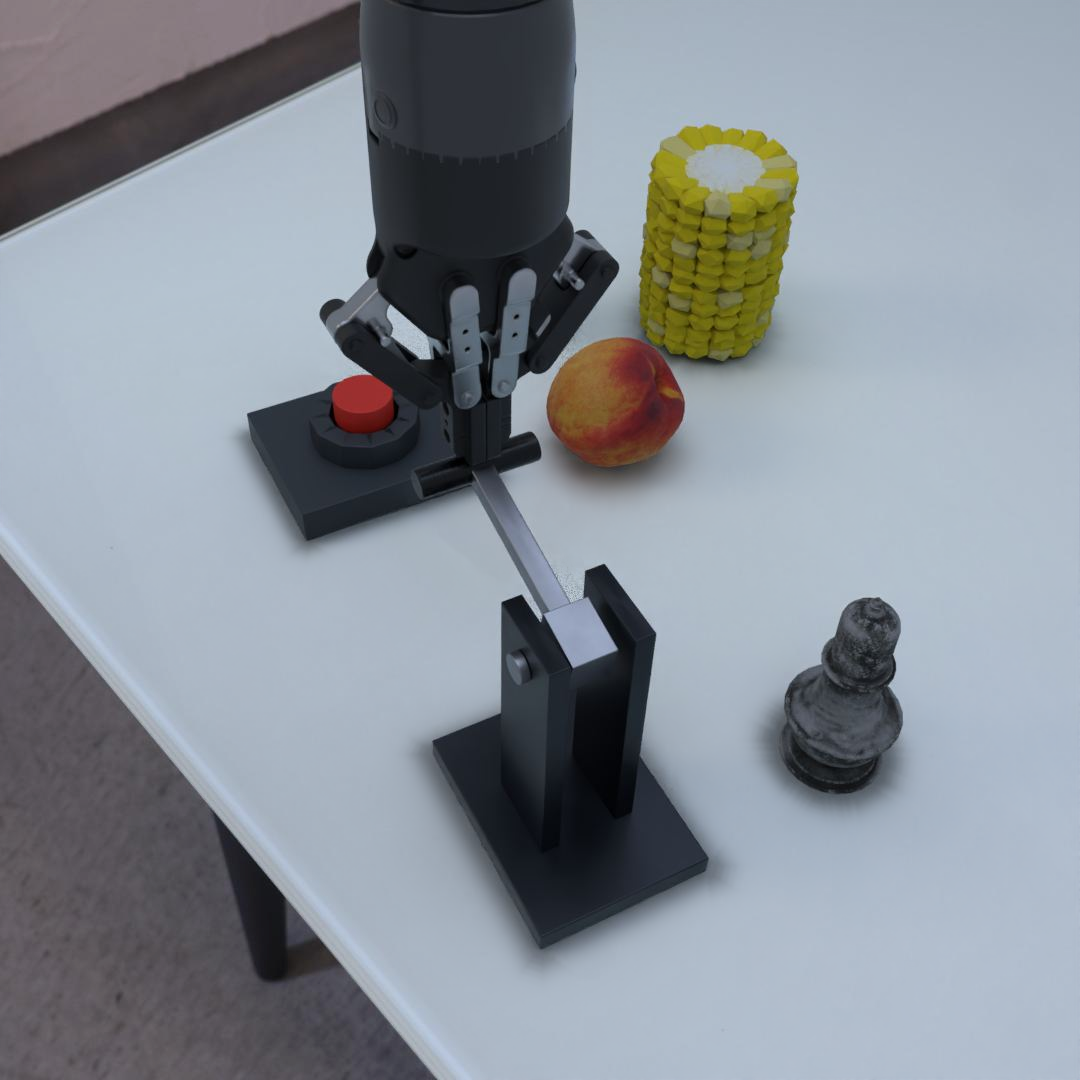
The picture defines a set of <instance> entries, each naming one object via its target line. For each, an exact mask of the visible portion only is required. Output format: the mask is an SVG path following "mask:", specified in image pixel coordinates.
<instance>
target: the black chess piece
mask: <svg viewBox="0 0 1080 1080" xmlns="http://www.w3.org/2000/svg"><path fill="white" fill-rule="evenodd" d="M900 618H901V617H900V616H899V614H898V612H897V611H896V610H895V608H894V607H893V606H892V605H890V604H889V603H888V602H886V601H885V600H883V599H882V598H881V597H880V596H878V597H877V596H876V597H869V596H868V597H861V598H858V599H854V600H853V601H850V603H848V604H847V605H846V607H845V608H844V609H843V610H842V612H841V615H840V617H839V621H838V624H837V627H836V631H835V635H834V636H833V637H831V638H830V639H828V640H827V642H826V643H825V644H824V646H823V648H822V651H821V653H820V662H821V663H820V664H818V665H814V666H811V667H808V668H806V669H804V670H803V671H801V672H799V673H797V675H795V677H794V678H793V679H792V680H791V681H790V682H789V684H788V687H787V689H786V692H785V694H784V703H783V710H784V713H785V717H786V720H787V722H786V724H785V725H784V726H783V729H782V731H781V733H780V736H779V751H780V755H781V760H782V761H783V764H784V765H785V766H786V768H787V770H788V771H789V772H790V773H791V774H792V775H793V776H794V777H795V778H796V779H797V780H798V781H799V782H802V784H804V785H806V786H807V787H809V788H811V789H814V790H817V791H819V792H822V793H827V794H833V795H844V794H852V793H855V792H858V791H861V790H863V789H865V788H867V787H868V786H869V785H871V784H873V782H874V780H875V779H876V778H877V776H878V775H879V774H880V770H881V768H882V764H883V753H884V752H886V751H887V750H890V749H891V748H892V747H893V746H894V744H895V743H896V742H897V740H898V739H899V738H900V735H901V732H902V728H903V726H904V714H903V713H904V711H903V709H902V705H901V703H900V701H899V699H898V697H897V696H896V694H895V693H894V691H893V690H892V688H891V687H890V686H889V685H890V684H891V683H892V682H893V680H894V679H895V676H896V673H897V661H896V657H895V655H894V653H895V650H896V647H897V644H898V642H899V640H900V639H899V638H900V635H901V634H902V621H901V619H900Z"/></svg>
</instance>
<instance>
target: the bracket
mask: <svg viewBox="0 0 1080 1080" xmlns="http://www.w3.org/2000/svg"><path fill="white" fill-rule="evenodd" d="M585 597H589V599H590V601H591V602H592V604H593V606H594V608H595V609H596V611H597V613H598V615H599V616H600V618H601V620H602V622H603V623H604V625H605V627H606V629H607V630H608V632H609V634H610V636H611V637H612V639H613V641H614V643H615V644H616V646H617V648H618V650H619V651H618V653H617V656H616V658H615V661H614V664H613V666H612V669H611V671H610V674H609V675H608V676H606V677H603V678H601V679H598V680H596V681H593V682H591V683H589V684H586V685H584V686H581V687H579V688H576V689H574V690H571V691H570V676H571V667H570V665H569V664H568V662H567V661H566V659H565V658H564V657H563V655H562V654H561V652H560V651H559V649H558V648H557V646H556V645H555V643H554V642H553V640H552V639H551V637H550V636H549V634H548V633H547V631H546V630H545V628H544V627H543V625H542V624H541V620H540V619H539V618H538V616H537V615H536V613H535V612H534V610H533V609H532V607H531V606H530V605H529V602H528V601H527V599H526V598H525V597H524V595H523V594H519V595H516V596H514V597H511V598H508V599H505V600H503V601H501V603H500V618H501V619H500V713H497V714H494V715H492V716H490V717H488V718H485V719H482V720H480V721H477V722H475V723H472V724H470V725H468V726H464V727H463V728H460V729H457V730H454V731H452V732H450V733H448V734H446V735H445V734H444V735H443V736H440V737H438V738H435V739H433V740H432V741H431V744H432V755H433V757H434V758H435V760H436V762H437V764H438V765H439V767H440V770H441V771H442V773H443V775H444V777H445V779H446V780H447V782H448V784H449V786H450V788H451V789H452V791H453V793H454V795H455V796H456V797H455V798H457V800H458V803H459V804H460V806H461V808H462V810H463V811H464V813H465V815H466V817H467V819H468V821H469V822H470V824H471V826H472V828H473V829H474V831H475V833H476V835H477V837H478V838H479V841H480V842H481V844H482V845H483V848H484V849H485V851H486V854H487V855H488V857H489V859H490V860H491V862H492V865H493V866H494V867H495V869H496V872H497V874H498V875H499V878H501V881H502V883H503V885H504V886H505V888H506V889H507V892H508V893H509V895H510V898H511V899H512V900H513V902H514V904H515V906H516V908H517V910H518V911H519V913H520V915H521V917H522V919H523V921H524V923H525V924H526V926H527V927H528V930H529V932H530V933H531V935H532V937H533V939H534V940H535V942H536V944H537V946H538V949H540V950H542V949H545V948H547V947H548V946H551V945H553V944H555V943H557V942H559V941H561V940H563V939H565V938H567V937H570V936H572V935H573V934H576V933H578V932H580V931H582V930H584V929H587V928H588V927H590V926H592V925H594V924H597V923H599V922H601V921H603V920H605V919H608V918H609V917H612V916H613V915H616V914H618V913H620V912H622V911H624V910H626V909H628V908H631V907H632V906H635V905H637V904H640V903H641V902H642V901H645V900H647V899H649V898H651V897H653V896H655V895H657V894H660V893H661V892H664V891H666V890H669V889H670V888H672V887H675V886H676V885H679V884H681V883H683V882H685V881H687V880H689V879H691V878H693V877H695V876H697V875H699V874H702V873H704V872H706V871H707V868H708V863H709V859H710V858H709V856H708V855H707V853H706V852H705V850H704V849H703V847H702V845H700V843H699V841H698V840H697V838H696V837H695V835H694V834H693V832H692V831H691V829H690V828H689V827H688V825H687V823H686V822H685V821H684V820H683V818H682V816H681V814H680V813H679V812H678V810H677V809H676V807H675V806H674V805H673V803H672V801H671V800H670V798H669V797H668V795H667V794H666V792H665V791H664V789H663V788H662V787H661V785H660V783H659V782H658V781H657V779H656V777H655V776H654V774H653V773H652V772H651V770H650V768H649V767H648V766H647V764H646V763H645V761H644V760H643V758H642V757H641V750H642V744H643V737H644V729H645V721H646V713H647V707H648V700H649V692H650V685H651V677H652V670H653V662H654V656H655V648H656V641H657V632H656V630H654V628H653V627H652V625H651V624H650V623H649V621H648V620H647V618H646V617H645V616H644V615H643V613H642V612H641V610H640V609H639V608H638V607H637V605H636V604H635V602H634V601H633V600H632V598H631V597H630V595H629V594H628V593H627V591H626V590H625V589H624V588H623V586H622V585H621V584H620V582H619V581H618V580H617V578H616V577H615V575H614V574H613V573H612V572H611V570H610V569H609V567H608V566H607V564H606V563H601V564H599V565H596V566H594V567H592V568H588V569H585V570H584V579H583V593H582V598H585Z"/></svg>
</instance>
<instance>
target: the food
mask: <svg viewBox="0 0 1080 1080" xmlns="http://www.w3.org/2000/svg"><path fill="white" fill-rule="evenodd" d="M649 164H650V167H651V171H650V172H649V173H648V177H649V179H650V182H649V183H648V185H647V193H648V194H647V196H646V209H645V214H646V215H645V219H646V222H645V223H643V224H642V239H643V241H642V243H643V245H642V250H641V254H640V256H639V260H640V267H639V271H638V276H639V277H640V281H639V284H638V287H639V300H638V304H639V305H638V310H639V314H640V321H639V325H638V326H639V327H640V328H642V329H643V330H645V331H646V335H645V336H646V338H647V339H648V340H649V341H650V342H651V344H652V346H655V347H659V348H661V347H663V346H665V348H666V349H667V351H668V352H669V354H671V355H682V354H685V355H686V356H688V357H689V359H690V358H691V359H694V360H697V359H700V358H702V357H706V356H707V358H710V359H713V360H717V361H720V362H725V361H726V360H727V359H728V357H731V358H739V357H744V356H746V354H747V353H748V352H749V351H750V349H751V348H756V347H758V346H759V345H760V343H761V342H762V341H763V340H764V339H765V332H766V331H767V330H768V329H769V327H770V326H771V324H772V321H771V320H772V310H773V309H774V307H775V303H776V297H777V296H778V295H780V282H779V281H780V277H781V274H782V271H783V270H784V261H783V256H784V255H785V253H786V251H787V250H788V248H789V246H790V245H789V242H790V236H791V235H790V234H791V230H790V229H791V226H792V223H793V222H792V218H791V217H792V216H793V215H794V214H795V213H796V211H795V206H794V200H795V198H796V196H797V193H798V190H797V188H798V184H799V179H800V176H799V173H798V161H797V160H796V159H794V157H792V156H791V155H790V154H788V150H787V149H786V147H784V146H783V145H782V144H781V143H780V142H779V141H777V140H776V139H775V138H772V139H770V140H769V141H768V137H767V136H766V134H765V132H763V131H760V130H755V129H749V128H748V129H747V130H746V131H745V132H744V130H743V129H739V128H734V127H731V128H727V129H726V130H723V131H722V128H721V127H719V126H715V125H712V124H708V123H706V124H704V125H703V126H701V127H700V128H699V127H698V126H692V125H685V126H684V127H683V128H682V129H681V130H680V131H679V132H678V133H677V134H676V135H674V136H668V137H666V138H664V139H663V140H660V143H659V151H657V152H656V153H655V154H654V157H652V160H651V161H650V163H649Z"/></svg>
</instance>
